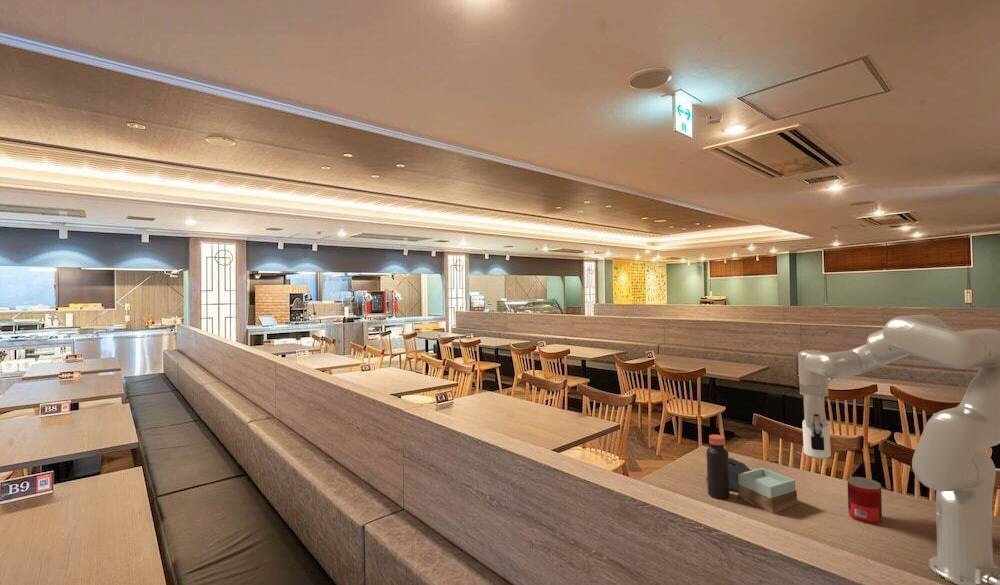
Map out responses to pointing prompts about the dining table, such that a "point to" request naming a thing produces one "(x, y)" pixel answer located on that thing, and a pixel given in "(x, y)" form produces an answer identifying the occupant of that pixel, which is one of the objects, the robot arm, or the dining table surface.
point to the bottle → (718, 468)
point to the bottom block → (767, 500)
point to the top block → (766, 482)
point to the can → (808, 447)
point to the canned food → (864, 500)
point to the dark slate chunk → (735, 473)
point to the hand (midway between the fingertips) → (816, 445)
